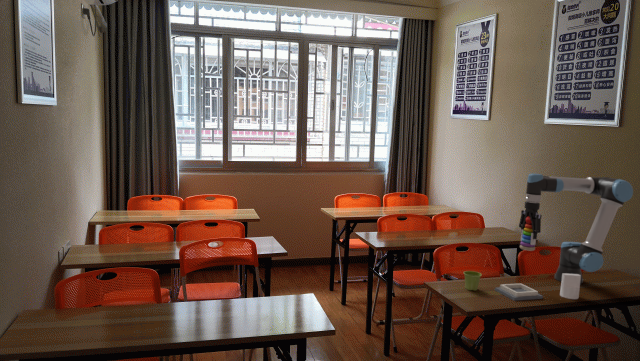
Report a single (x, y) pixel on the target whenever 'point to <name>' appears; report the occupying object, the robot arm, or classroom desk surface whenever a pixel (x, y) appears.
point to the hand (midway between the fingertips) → (527, 242)
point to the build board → (518, 292)
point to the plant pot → (472, 280)
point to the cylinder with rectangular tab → (570, 286)
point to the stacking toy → (527, 236)
